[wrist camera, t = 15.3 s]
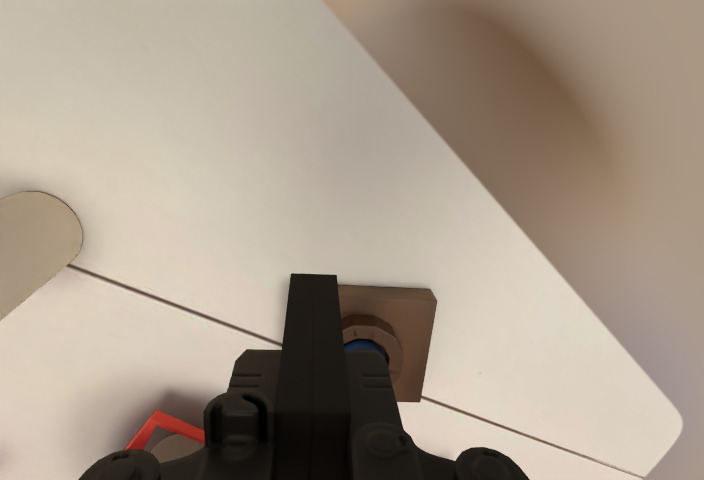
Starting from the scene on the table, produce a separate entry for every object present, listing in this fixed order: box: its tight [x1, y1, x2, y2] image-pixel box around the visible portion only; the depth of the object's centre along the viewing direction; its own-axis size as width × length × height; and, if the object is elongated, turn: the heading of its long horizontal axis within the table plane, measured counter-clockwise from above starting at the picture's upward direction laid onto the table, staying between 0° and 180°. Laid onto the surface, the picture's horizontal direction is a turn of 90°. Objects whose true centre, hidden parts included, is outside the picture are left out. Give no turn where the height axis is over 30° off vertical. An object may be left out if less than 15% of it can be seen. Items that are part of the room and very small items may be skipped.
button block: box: [338, 285, 437, 402], centre depth 38 cm, size 12×10×4 cm
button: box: [344, 340, 386, 361], centre depth 36 cm, size 4×4×2 cm
